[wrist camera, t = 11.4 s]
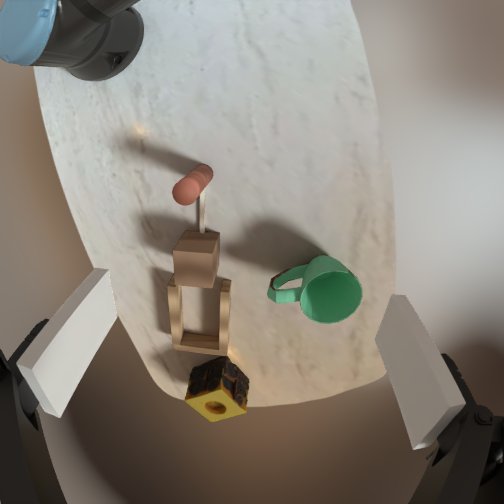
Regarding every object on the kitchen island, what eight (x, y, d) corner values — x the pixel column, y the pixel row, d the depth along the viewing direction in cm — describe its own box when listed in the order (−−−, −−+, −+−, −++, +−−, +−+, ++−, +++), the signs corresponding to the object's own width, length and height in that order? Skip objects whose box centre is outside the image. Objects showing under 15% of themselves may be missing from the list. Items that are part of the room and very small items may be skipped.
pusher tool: (185, 163, 47) (161, 179, 36) (222, 165, 47) (208, 181, 36) (186, 261, 54) (168, 299, 43) (219, 264, 54) (208, 303, 43)
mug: (350, 241, 51) (366, 268, 42) (345, 289, 55) (358, 321, 46) (266, 243, 52) (266, 273, 43) (268, 292, 56) (268, 326, 47)
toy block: (226, 353, 64) (221, 388, 55) (251, 379, 67) (248, 413, 58) (190, 367, 67) (182, 400, 58) (216, 391, 70) (211, 423, 61)
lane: (173, 274, 56) (167, 286, 52) (231, 280, 56) (229, 292, 52) (177, 336, 62) (173, 349, 59) (228, 342, 62) (226, 356, 59)
